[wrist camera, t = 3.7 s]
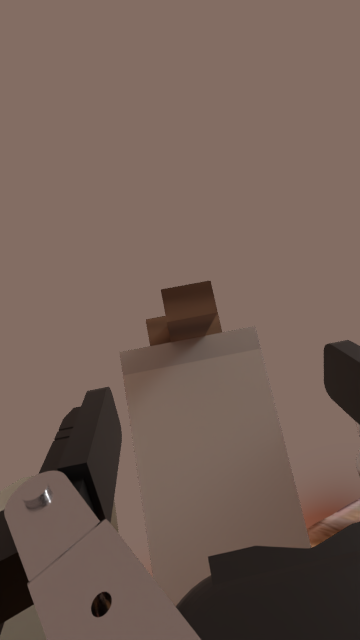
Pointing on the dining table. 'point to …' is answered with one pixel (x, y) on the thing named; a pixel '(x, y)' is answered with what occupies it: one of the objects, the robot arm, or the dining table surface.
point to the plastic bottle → (359, 457)
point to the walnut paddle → (185, 314)
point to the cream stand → (208, 455)
